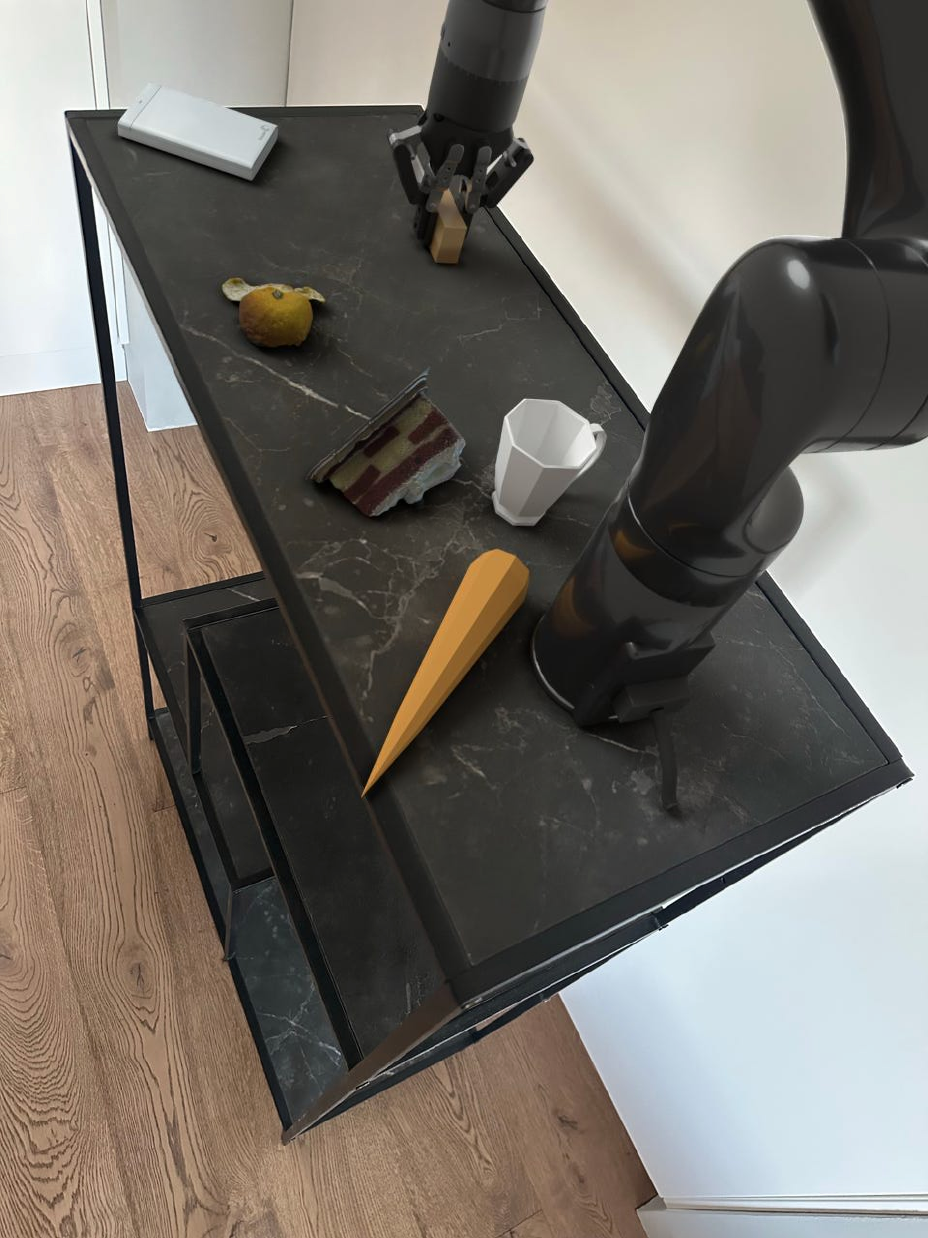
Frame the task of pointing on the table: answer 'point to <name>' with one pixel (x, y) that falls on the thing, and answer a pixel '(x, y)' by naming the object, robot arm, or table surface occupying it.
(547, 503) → the cup
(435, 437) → the chocolate cake
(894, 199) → the robot arm
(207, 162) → the hard drive
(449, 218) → the knife
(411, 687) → the carrot
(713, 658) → the table surface
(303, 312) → the fruit
